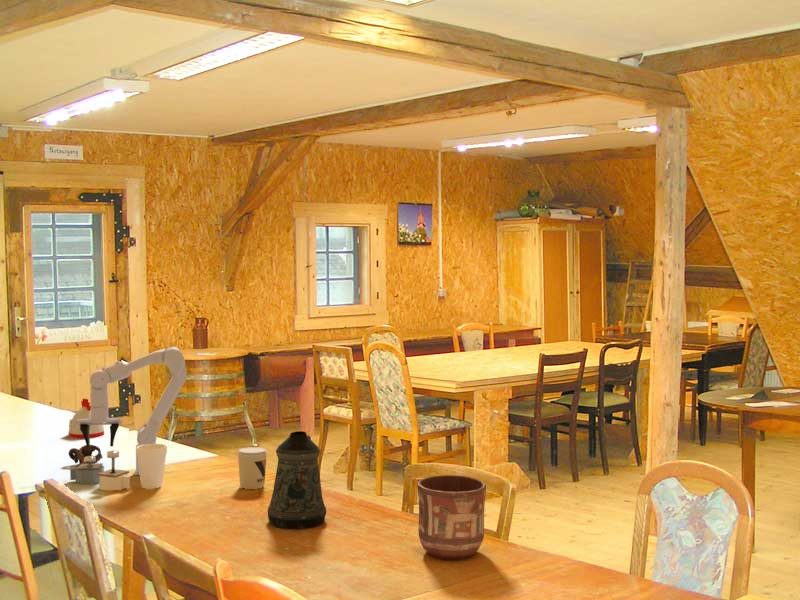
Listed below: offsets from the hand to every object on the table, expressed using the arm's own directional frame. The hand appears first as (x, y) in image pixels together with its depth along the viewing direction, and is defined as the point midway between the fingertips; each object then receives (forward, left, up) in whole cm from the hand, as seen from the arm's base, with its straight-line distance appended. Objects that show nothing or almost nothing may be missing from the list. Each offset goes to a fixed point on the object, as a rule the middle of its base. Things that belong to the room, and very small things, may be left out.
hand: (99, 446), depth 321 cm
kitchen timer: (+18, -73, -10) cm, 76 cm away
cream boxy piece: (-7, +18, -10) cm, 22 cm away
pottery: (-102, +95, -10) cm, 140 cm away
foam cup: (-19, +18, -10) cm, 28 cm away
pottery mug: (+8, -16, -10) cm, 20 cm away
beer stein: (-64, +61, -10) cm, 89 cm away
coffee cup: (-51, +21, -10) cm, 56 cm away
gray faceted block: (+2, +8, -10) cm, 13 cm away
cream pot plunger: (-7, +18, -5) cm, 20 cm away
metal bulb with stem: (+2, +8, -9) cm, 12 cm away
